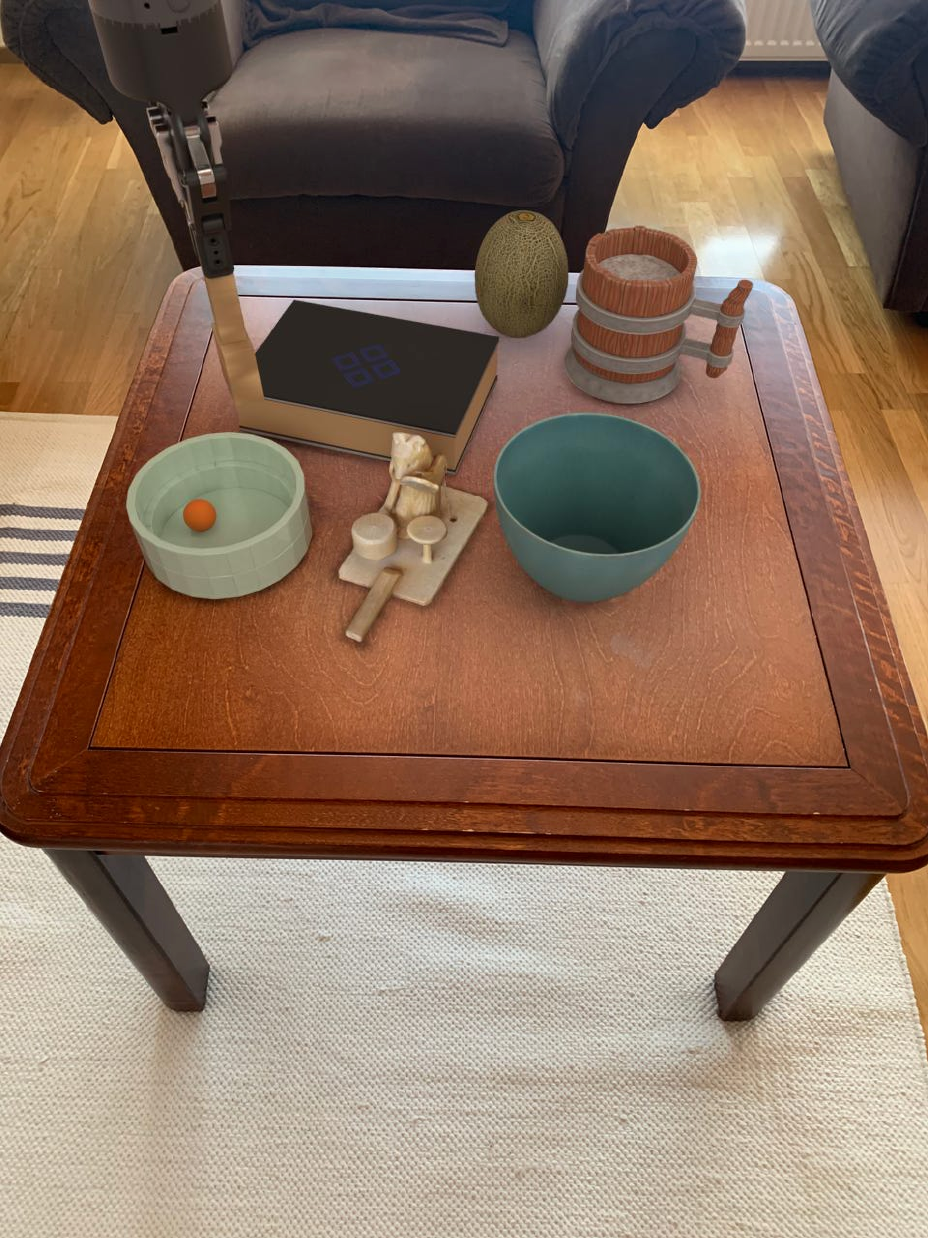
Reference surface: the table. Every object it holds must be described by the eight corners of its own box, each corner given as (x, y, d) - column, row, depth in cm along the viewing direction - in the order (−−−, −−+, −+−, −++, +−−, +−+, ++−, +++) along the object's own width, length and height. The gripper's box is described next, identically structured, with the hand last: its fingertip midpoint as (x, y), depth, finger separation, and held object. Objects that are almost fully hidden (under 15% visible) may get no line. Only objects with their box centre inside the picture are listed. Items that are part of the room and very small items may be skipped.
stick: (235, 406, 74) (190, 216, 62) (223, 374, 77) (177, 186, 64) (264, 399, 75) (225, 210, 62) (251, 368, 78) (211, 179, 65)
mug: (583, 325, 116) (598, 209, 104) (734, 361, 112) (768, 245, 100) (547, 389, 108) (559, 272, 96) (709, 431, 104) (741, 313, 92)
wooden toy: (405, 475, 99) (399, 370, 88) (493, 505, 96) (498, 399, 85) (298, 621, 86) (276, 518, 76) (395, 659, 84) (387, 558, 73)
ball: (190, 541, 91) (183, 519, 89) (184, 520, 93) (176, 497, 91) (222, 532, 92) (216, 510, 90) (215, 511, 94) (208, 488, 91)
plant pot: (667, 509, 96) (691, 416, 86) (682, 649, 84) (711, 560, 75) (493, 500, 96) (497, 407, 87) (485, 638, 85) (488, 548, 75)
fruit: (567, 356, 112) (580, 240, 100) (475, 357, 112) (477, 241, 100) (557, 303, 119) (569, 189, 107) (471, 304, 119) (473, 189, 107)
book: (301, 347, 113) (293, 298, 108) (497, 384, 109) (499, 335, 103) (240, 436, 102) (229, 387, 97) (455, 481, 98) (455, 433, 93)
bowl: (164, 625, 86) (144, 575, 80) (132, 508, 95) (112, 457, 90) (334, 574, 90) (326, 524, 84) (287, 467, 99) (277, 415, 94)
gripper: (72, -38, 57) (147, 229, 70) (106, 46, 49) (183, 328, 63) (193, -52, 59) (243, 210, 72) (245, 26, 51) (290, 305, 64)
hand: (215, 264), depth 67 cm, fingers closed on stick, 2 cm apart
